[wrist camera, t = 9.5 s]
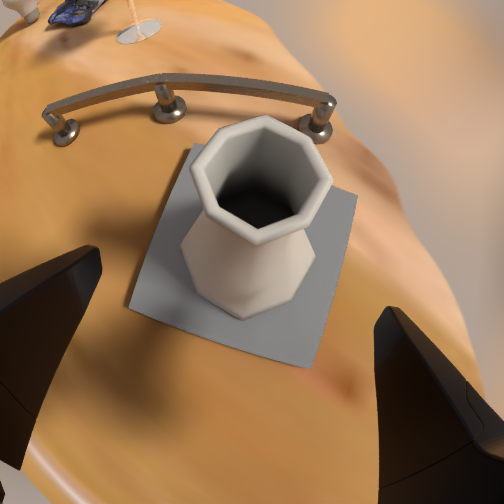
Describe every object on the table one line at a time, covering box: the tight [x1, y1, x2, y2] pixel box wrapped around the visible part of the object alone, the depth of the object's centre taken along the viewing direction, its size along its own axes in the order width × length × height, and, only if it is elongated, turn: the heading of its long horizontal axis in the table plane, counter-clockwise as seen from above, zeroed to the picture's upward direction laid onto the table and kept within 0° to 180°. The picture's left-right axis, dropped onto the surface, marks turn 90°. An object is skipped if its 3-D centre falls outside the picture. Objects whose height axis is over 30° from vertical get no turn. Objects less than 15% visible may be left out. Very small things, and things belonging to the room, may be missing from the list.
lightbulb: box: [2, 0, 40, 23], centre depth 17 cm, size 6×6×11 cm
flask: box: [180, 115, 334, 321], centre depth 11 cm, size 7×7×10 cm
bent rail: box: [42, 73, 337, 147], centre depth 17 cm, size 4×22×4 cm, turn 88°
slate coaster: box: [128, 143, 358, 370], centre depth 17 cm, size 11×11×1 cm
